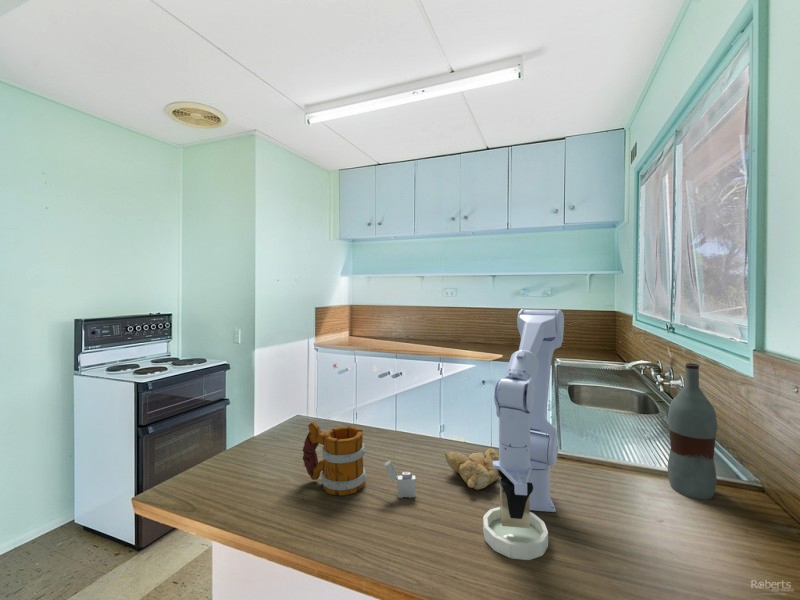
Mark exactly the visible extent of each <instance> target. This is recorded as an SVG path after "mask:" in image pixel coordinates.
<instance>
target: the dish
mask: <svg viewBox="0 0 800 600" xmlns="http://www.w3.org/2000/svg"><path fill="white" fill-rule="evenodd" d="M482 531H483V540H484V541H485V542H486V543H487V544H488V545H489V547H490V548H491V549H492V550H493V551H494V552H496V553H498V554H501V555H502V556H505V557H507V558H509V559H513V560H514V559H515V560H523V561H531V560H533V559H536V558H537V559H538V558H540V557H542V556H543V555H544V554H545V553H546V551H547V549H548V547H549V530H548V529H547V526H546V523H545V521H544V520H542V519H541V518H540V517H539V516H538V515H536V514H535V512H531V511H530V528H519V527H508V526H502V523H501V518H500V506H497V507H494V508H490V509H489V510H488V511H487V512H486V513H485V514H484V515H483V517H482Z"/></svg>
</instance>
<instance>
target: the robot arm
mask: <svg viewBox="0 0 800 600" xmlns="http://www.w3.org/2000/svg"><path fill="white" fill-rule="evenodd" d="M516 323H517V325H516V326H517V330H518V333H519V335H520V344H519V347H518V350H516V351H514V352H513V353H512V354H511V356H510V359H509V362H508V365H507V367H506V370H505V373H504V376H503V377H502V378H501V379H498V380H497V381H496V382H495V387H494V391H493V392H494V394H493V395H494V396H493V400H494V401H493V402H494V404H495V408H496V411H495V412H496V416H497V417H498V456H499V461H493V468H495V469H498V472H499V473H498V475H499V477H500V481H501V485H502V487H503V489H504V491H505V494H506V497H507V502H508V509H509V514H510V517H511V518H514V519H522V517H523V514H524V509H525V505H526V502H527V499H528V497H529V495H530V511H537V512H548V513H550V512H551V513H555V512H557V511H556V506H555V505H554V501H552V498H551V467H554V465H556V463H557V460H558V453H559V442H558V436H559V435H558V432H557V428H556V427H555V426H553V425H552V424H551V422H549V421H548V420H547V411H548V410H547V409H548V398H549V389H550V376H551V368H552V367H551V366H552V359H553V355H554V352H555V350H557V349H559V348H561V347H562V343H563V342H564V329H565V315H564V312H563V311H562V310H561V309H526V308H521V309H520V310H519V311H518V313H517V322H516ZM538 432H539V433H538Z"/></svg>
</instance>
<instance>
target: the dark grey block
mask: <svg viewBox="0 0 800 600" xmlns="http://www.w3.org/2000/svg"><path fill="white" fill-rule="evenodd" d="M499 482H500V483H499V488H500V489H499V500H500V501H499V507H500V518H501V523H502V526H508V527H519V528H530V512H531V510H530V495H529V497H528V499H527V502H526V505H525V509H524V514H523V517H522V519H514V518H511V517H510V514H509V509H508V502H507V497H506V494H505V491H504V489H503V487H502V485H501V480H500V481H499Z"/></svg>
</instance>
